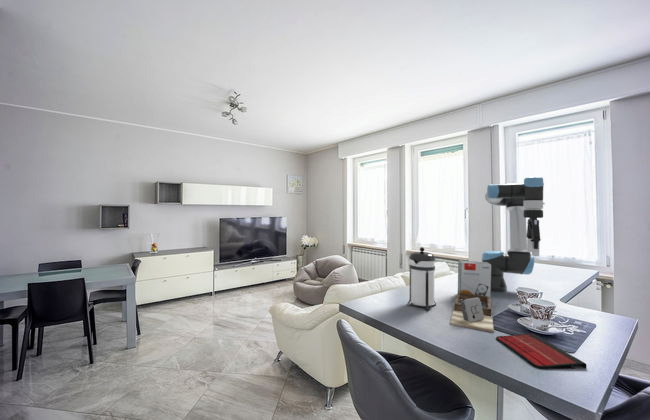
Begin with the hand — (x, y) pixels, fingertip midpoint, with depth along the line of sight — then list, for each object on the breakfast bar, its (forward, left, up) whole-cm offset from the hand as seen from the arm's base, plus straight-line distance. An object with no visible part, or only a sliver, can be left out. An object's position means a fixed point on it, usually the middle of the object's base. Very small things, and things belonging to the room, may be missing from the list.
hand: (532, 253), depth 131 cm
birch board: (+26, -25, -28) cm, 46 cm away
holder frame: (+5, -25, -28) cm, 38 cm away
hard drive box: (-13, -25, -29) cm, 40 cm away
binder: (+44, -5, -29) cm, 53 cm away
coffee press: (+15, -48, -29) cm, 58 cm away
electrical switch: (+26, -25, -28) cm, 45 cm away
